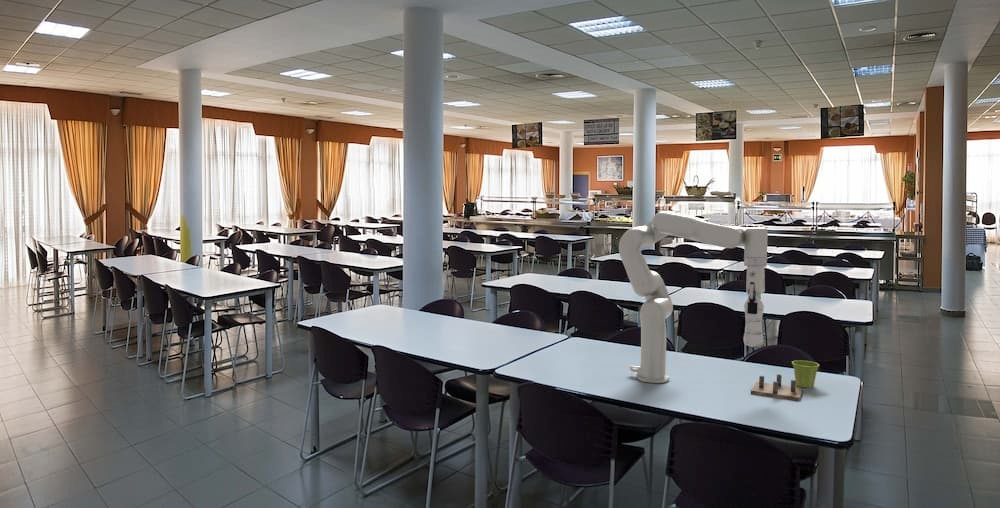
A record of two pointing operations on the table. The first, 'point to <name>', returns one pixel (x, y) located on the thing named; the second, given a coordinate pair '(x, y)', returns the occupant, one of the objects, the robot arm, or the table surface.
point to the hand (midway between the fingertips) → (754, 311)
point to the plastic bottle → (754, 325)
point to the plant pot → (805, 373)
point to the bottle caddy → (777, 389)
